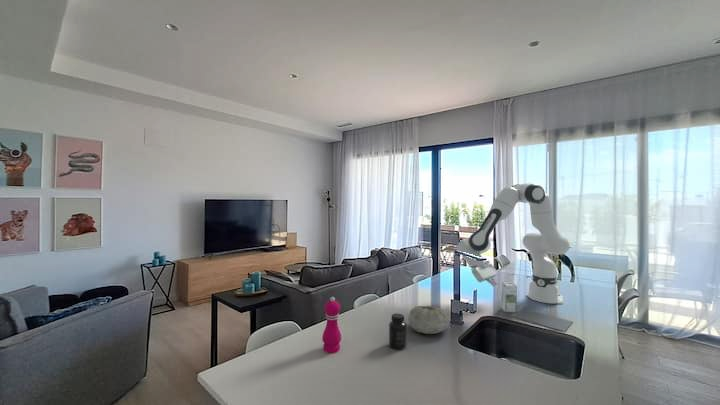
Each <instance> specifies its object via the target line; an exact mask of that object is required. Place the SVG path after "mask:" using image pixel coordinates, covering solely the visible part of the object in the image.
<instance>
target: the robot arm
mask: <svg viewBox="0 0 720 405" xmlns="http://www.w3.org/2000/svg"><path fill="white" fill-rule="evenodd" d="M517 203H524V204H526V203H528V205H529V211H530V221H531V225H532V227H533V228H535V229H536V230H538V233H537V232H532V233H526V234H525V235H524V236H523V237H522V245H523V246H524V247H525V249H526V250H527V251H528V252H529V255H530V256H531V259H532V264H533V265H532V267H533V268H532V269H533V271H532V272H533V273H532V276H531V277H532V278H531V280H532V281H531V282H529V284H528V293H526V294H525V296H526V297H528V298H529V299H531V300H532V301H535V302H539V303H544V304H557V305H558V304H559V305H562V304H563V302H564V300H563V299H564V296H563V295H561V294H560V293H559V291H560V290H559V289H560V288H559V286H558V285H557V275H556V263H555V262H554V261H553V260H552V259H551V258H550V257H549V256H548V254H550V255H566V253H568V251H569V250H570V245H571V244H570V242H569V240H568V239H567V238H566V237H565V236H563V235H562V233H560V232H559V230H558V227H557V226H556V224H555V221H554V212H553V207H552V202H551V199H550V196H549V195H548V194H547V193H546V192H545V190H544V188H543V187H542V186H541V185H539V184H536V183H520V184H519V183H518V184H515V185H512V186H506V187H503V188H502V190H501V191H500V192H498V194H497V196H496V197H495V199H494V201H493V202H492V205H491V206H490V207H489V208H490V209H489V212H488V213H487V216H486V217H485V219H484V220H483V222H482V223H481V225H480V227H479V228H477V230H476V231H475V232H473V233H472V234H470V236H469V238H463V239H461V240H459V242H458V243H457V245H456V249H457V251H461V252H466V253H469V254H473V255H475V256H479V257H483V256H482V255H483V254H484V253H487V252H488V251H489V250H490V249H491V246H492V243H491V240H490V235H491V233H492V232H493V231H494V229H495V227H496V226H497V224H498V223H499V222H501V221H503V220H506V219H508V217H509V216H510V215H511V213H512V212H513V210H514V209H515V207H516V205H517ZM462 258H463V260H465V261H466V263H467V265H468V266H469V267H470V270H471V273H472V275H473V277H474V278H475V279H476V281H477V282H478V283H483V282H485V281H486V282H487V283H488V284H490V285H491V286H492V287H495V286H497V285H498V282H497V281H496V279H495V277H496V276H498V275H499V272H498V270H497V269H496V268H495V266H494V265H493V264H492V263H491V261H490V260H489V261H477V260H474V259H471V258H469V257H466V256H463V257H462Z"/></svg>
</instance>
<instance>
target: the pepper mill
mask: <svg viewBox="0 0 720 405" xmlns="http://www.w3.org/2000/svg"><path fill="white" fill-rule="evenodd" d="M329 298H330V299H329V301H327V302H326V303H325V305H324V312H325V319H326V326H325V328H324V330H323V333H322V338H321V339H322V340H321V341H322V342H323V351H324V352H325V353H327V354H335V353H338V352H339V351H340V348H341V341H342V333H341V331H340V328H339V325H338V320H339V318H340V316H339V315H340V314H339V313H340V311H341V305H340V303H339V301H336V298H335V297H334V296H331V297H329Z"/></svg>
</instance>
